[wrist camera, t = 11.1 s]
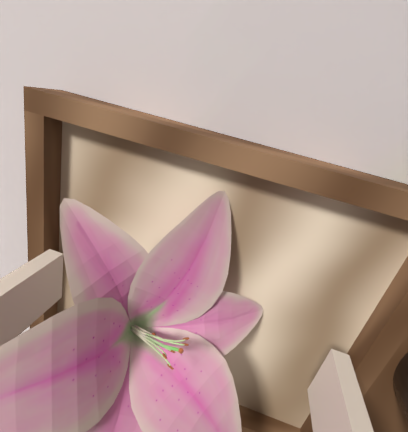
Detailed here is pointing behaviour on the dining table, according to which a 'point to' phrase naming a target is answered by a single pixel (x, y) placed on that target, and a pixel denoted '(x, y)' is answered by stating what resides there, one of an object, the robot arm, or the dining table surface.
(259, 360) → the tray
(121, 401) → the lily
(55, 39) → the dining table surface
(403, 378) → the grey rounded cylinder
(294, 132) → the dining table surface
